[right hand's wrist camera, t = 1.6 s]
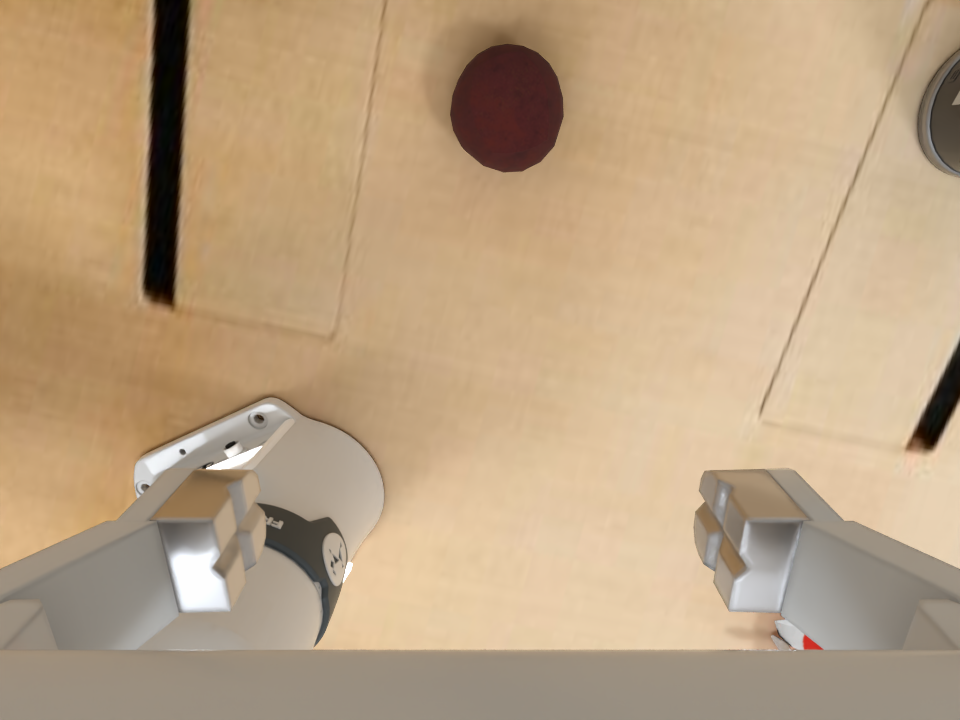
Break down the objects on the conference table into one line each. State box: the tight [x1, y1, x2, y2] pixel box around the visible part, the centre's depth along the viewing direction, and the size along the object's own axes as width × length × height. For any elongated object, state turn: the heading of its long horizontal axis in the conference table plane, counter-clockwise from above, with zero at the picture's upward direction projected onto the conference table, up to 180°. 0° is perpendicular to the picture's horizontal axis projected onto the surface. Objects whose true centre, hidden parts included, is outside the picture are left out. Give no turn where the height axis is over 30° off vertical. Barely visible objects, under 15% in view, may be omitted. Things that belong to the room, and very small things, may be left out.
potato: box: [450, 44, 563, 172], centre depth 37 cm, size 7×8×7 cm
